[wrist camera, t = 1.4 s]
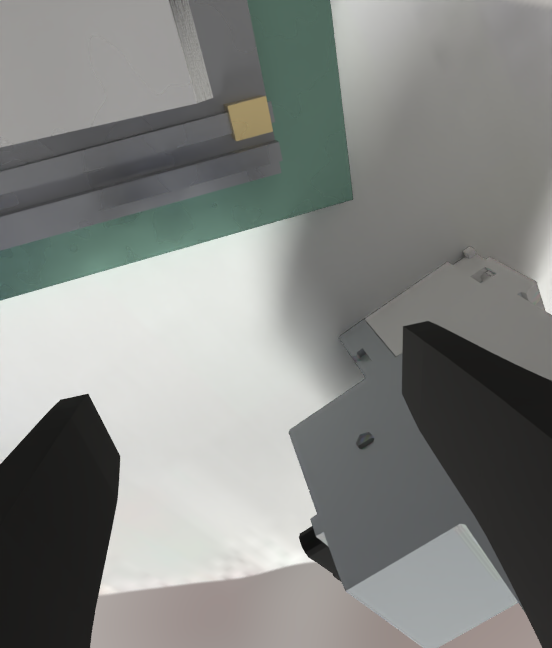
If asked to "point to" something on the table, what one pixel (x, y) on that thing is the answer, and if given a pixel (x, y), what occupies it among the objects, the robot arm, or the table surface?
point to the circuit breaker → (414, 460)
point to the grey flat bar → (94, 64)
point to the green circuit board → (186, 154)
